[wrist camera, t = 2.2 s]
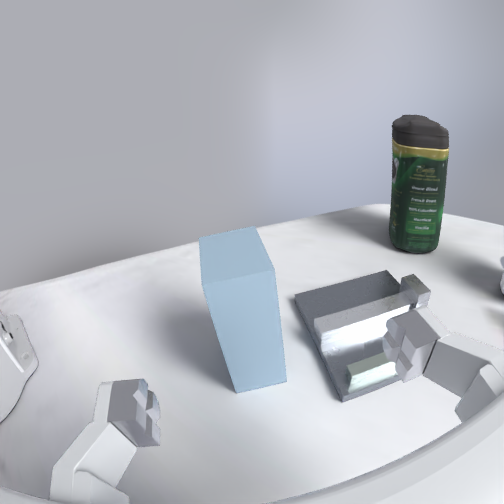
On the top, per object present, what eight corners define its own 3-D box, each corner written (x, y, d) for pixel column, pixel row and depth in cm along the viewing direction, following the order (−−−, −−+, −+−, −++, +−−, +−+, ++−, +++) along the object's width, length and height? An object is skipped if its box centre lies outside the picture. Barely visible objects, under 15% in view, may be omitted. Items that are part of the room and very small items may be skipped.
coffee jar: (441, 257, 36) (456, 123, 26) (390, 254, 38) (395, 117, 29) (430, 226, 43) (437, 114, 34) (387, 223, 46) (387, 110, 37)
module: (236, 393, 24) (201, 285, 18) (226, 337, 30) (198, 234, 24) (286, 381, 24) (274, 269, 18) (269, 328, 30) (253, 222, 24)
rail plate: (342, 402, 21) (347, 375, 19) (295, 301, 33) (292, 272, 31) (451, 354, 22) (464, 325, 20) (385, 276, 34) (388, 248, 32)
